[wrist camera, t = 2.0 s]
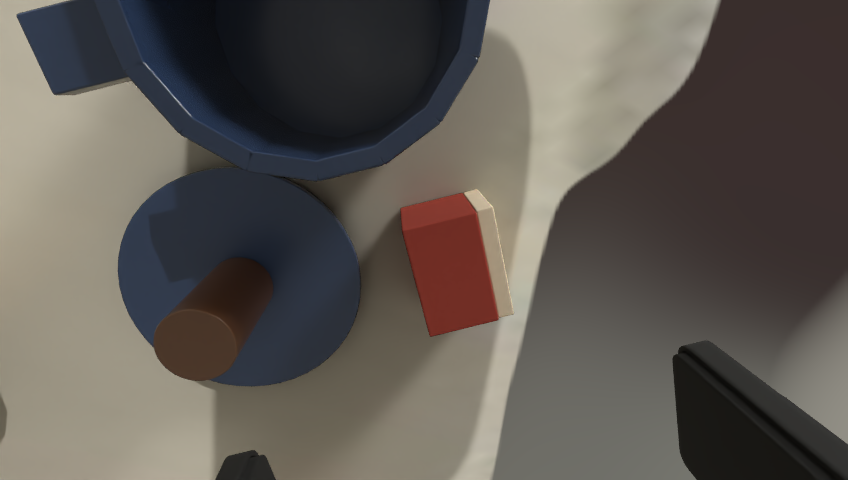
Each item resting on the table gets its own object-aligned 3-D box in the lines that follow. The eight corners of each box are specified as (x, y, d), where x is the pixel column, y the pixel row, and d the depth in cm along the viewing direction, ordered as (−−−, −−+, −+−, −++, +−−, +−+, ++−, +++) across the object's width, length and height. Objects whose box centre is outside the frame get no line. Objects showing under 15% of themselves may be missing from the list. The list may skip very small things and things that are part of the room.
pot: (102, -70, 20) (-99, -183, 12) (484, -167, 20) (549, -351, 11) (203, 186, 23) (103, 235, 15) (527, 105, 23) (600, 111, 15)
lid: (87, 198, 23) (-38, 241, 16) (323, 138, 23) (296, 157, 16) (183, 397, 27) (113, 498, 20) (386, 347, 27) (384, 432, 20)
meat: (399, 207, 24) (401, 230, 20) (477, 188, 24) (494, 207, 20) (424, 299, 26) (430, 337, 22) (496, 282, 26) (515, 316, 22)
